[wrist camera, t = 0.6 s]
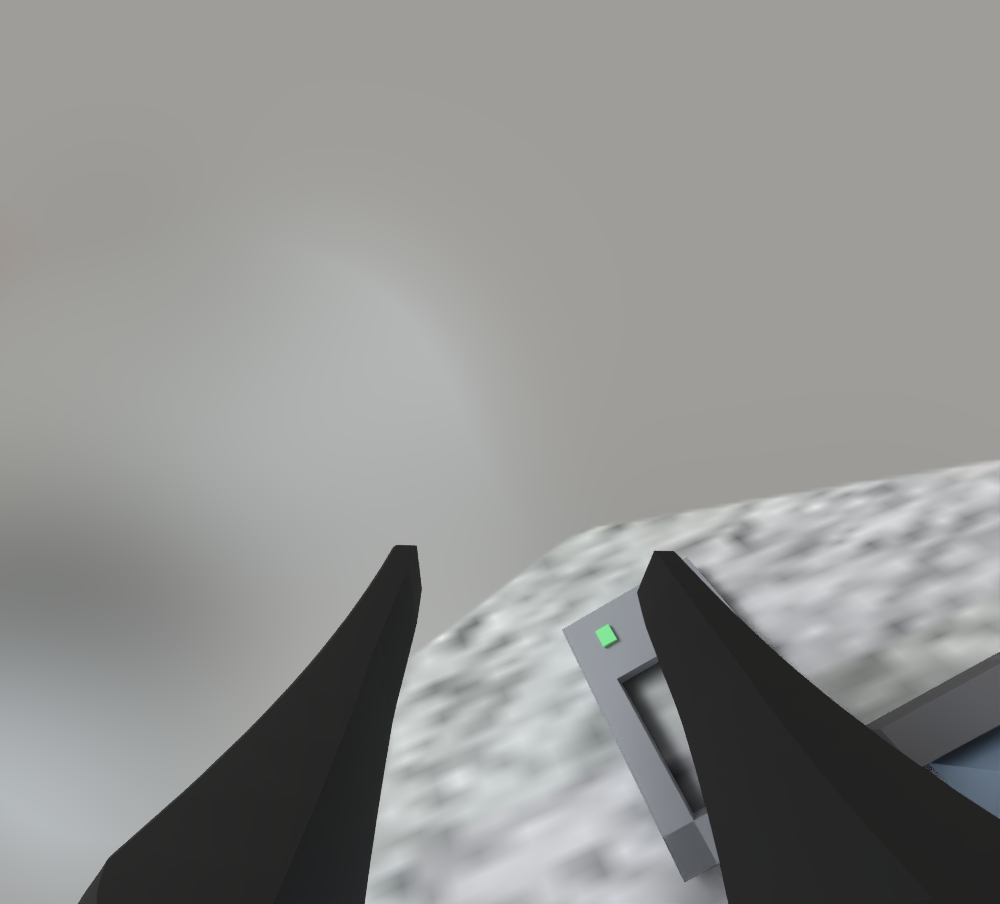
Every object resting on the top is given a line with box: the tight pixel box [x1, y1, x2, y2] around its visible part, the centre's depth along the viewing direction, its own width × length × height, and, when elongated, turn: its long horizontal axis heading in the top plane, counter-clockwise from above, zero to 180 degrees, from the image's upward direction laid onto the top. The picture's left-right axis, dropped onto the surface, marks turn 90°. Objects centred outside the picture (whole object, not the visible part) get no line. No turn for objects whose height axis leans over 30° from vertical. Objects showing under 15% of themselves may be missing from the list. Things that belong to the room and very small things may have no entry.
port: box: [562, 557, 735, 882], centre depth 21 cm, size 12×10×3 cm
